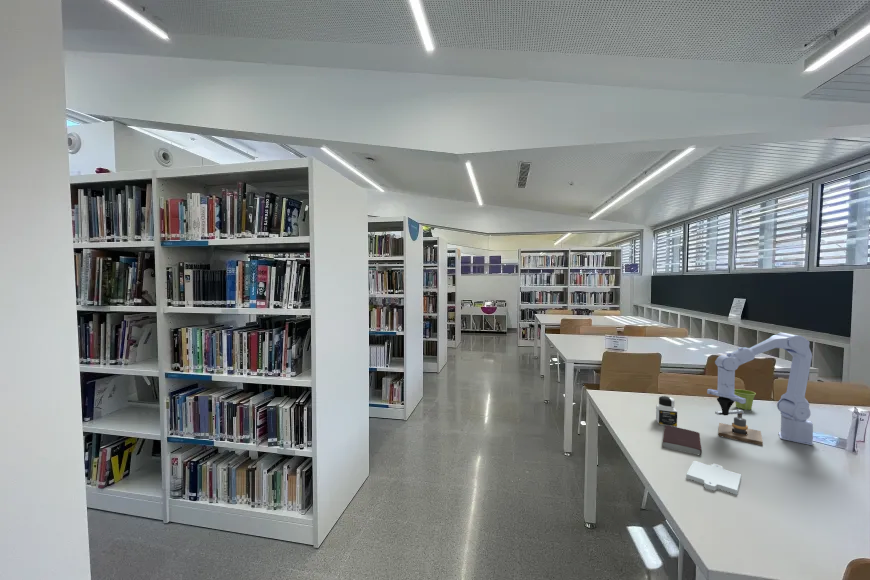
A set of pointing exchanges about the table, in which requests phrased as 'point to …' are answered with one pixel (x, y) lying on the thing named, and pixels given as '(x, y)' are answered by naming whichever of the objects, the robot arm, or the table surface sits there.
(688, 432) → the book
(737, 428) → the plug
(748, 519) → the table surface
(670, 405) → the medicine bottle
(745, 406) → the plant pot
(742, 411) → the grey rectangular bar
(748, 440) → the socket block
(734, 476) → the mounting plate
